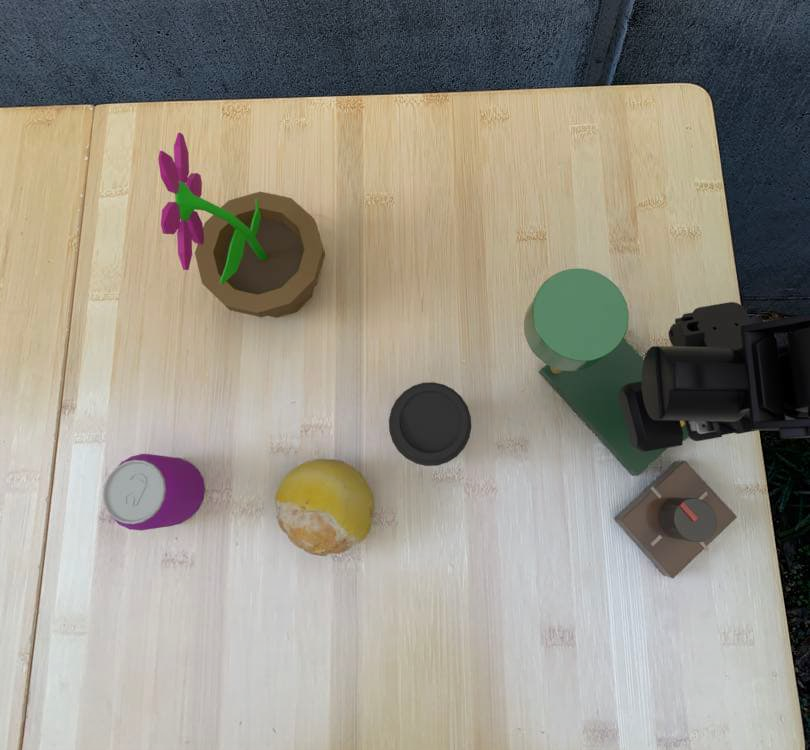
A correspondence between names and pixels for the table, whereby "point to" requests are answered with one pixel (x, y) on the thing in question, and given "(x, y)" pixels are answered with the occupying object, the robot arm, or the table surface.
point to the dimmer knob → (688, 519)
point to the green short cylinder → (576, 319)
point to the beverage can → (153, 492)
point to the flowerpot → (243, 242)
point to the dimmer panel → (645, 521)
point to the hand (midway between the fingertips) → (691, 411)
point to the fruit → (325, 506)
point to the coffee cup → (430, 424)
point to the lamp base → (606, 402)
